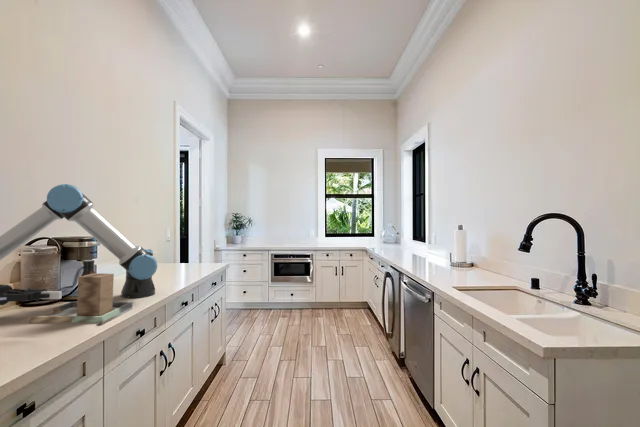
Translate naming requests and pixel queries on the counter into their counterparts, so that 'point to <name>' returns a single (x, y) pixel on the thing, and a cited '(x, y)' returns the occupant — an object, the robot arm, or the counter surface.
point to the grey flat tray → (69, 315)
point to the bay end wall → (110, 314)
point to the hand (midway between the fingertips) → (60, 295)
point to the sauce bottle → (88, 267)
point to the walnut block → (95, 294)
